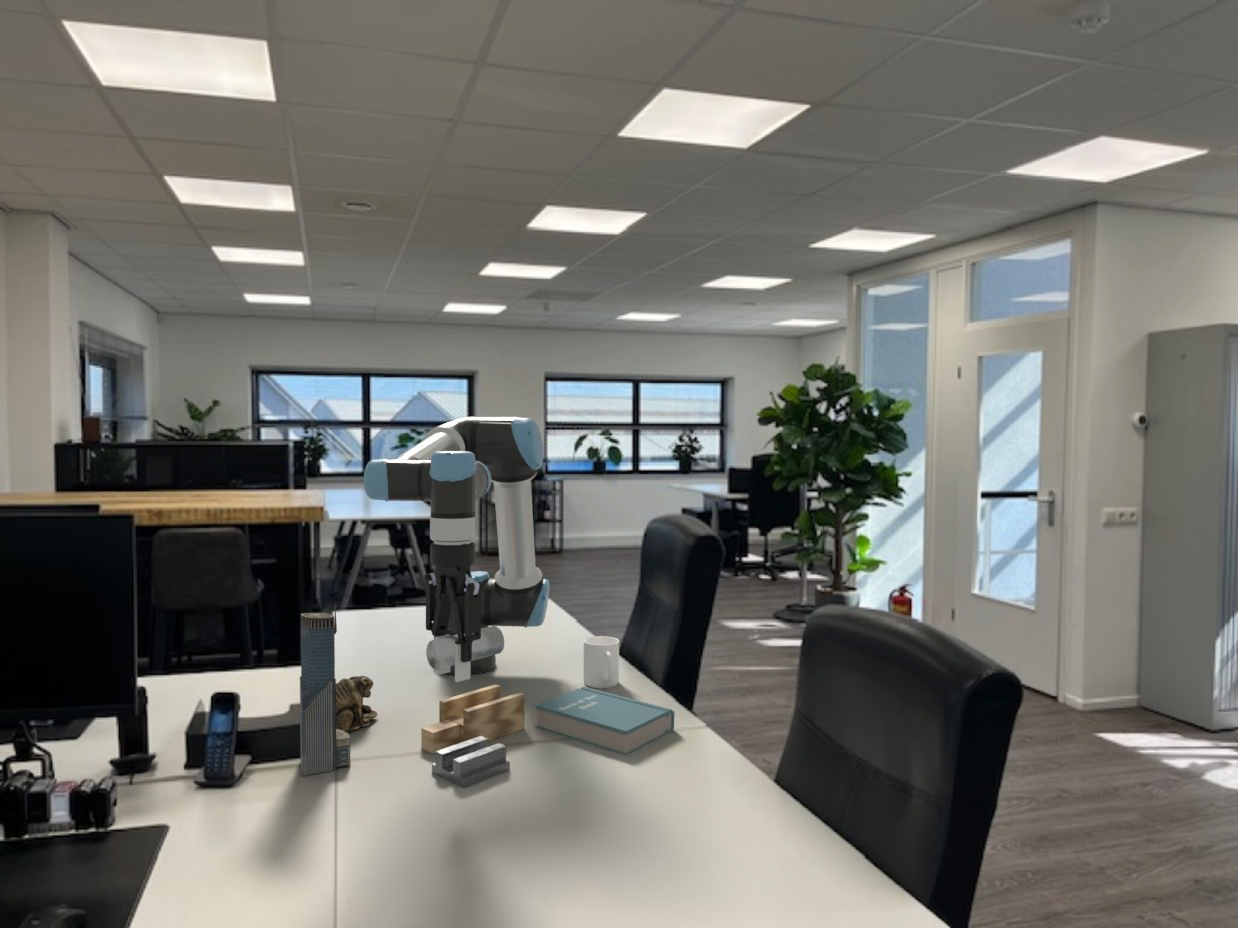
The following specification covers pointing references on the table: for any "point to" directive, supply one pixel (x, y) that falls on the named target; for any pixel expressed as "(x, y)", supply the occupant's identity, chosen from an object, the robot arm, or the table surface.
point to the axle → (487, 645)
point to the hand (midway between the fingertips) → (452, 676)
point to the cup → (601, 662)
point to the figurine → (353, 703)
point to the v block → (470, 761)
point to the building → (320, 698)
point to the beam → (475, 718)
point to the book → (605, 719)
